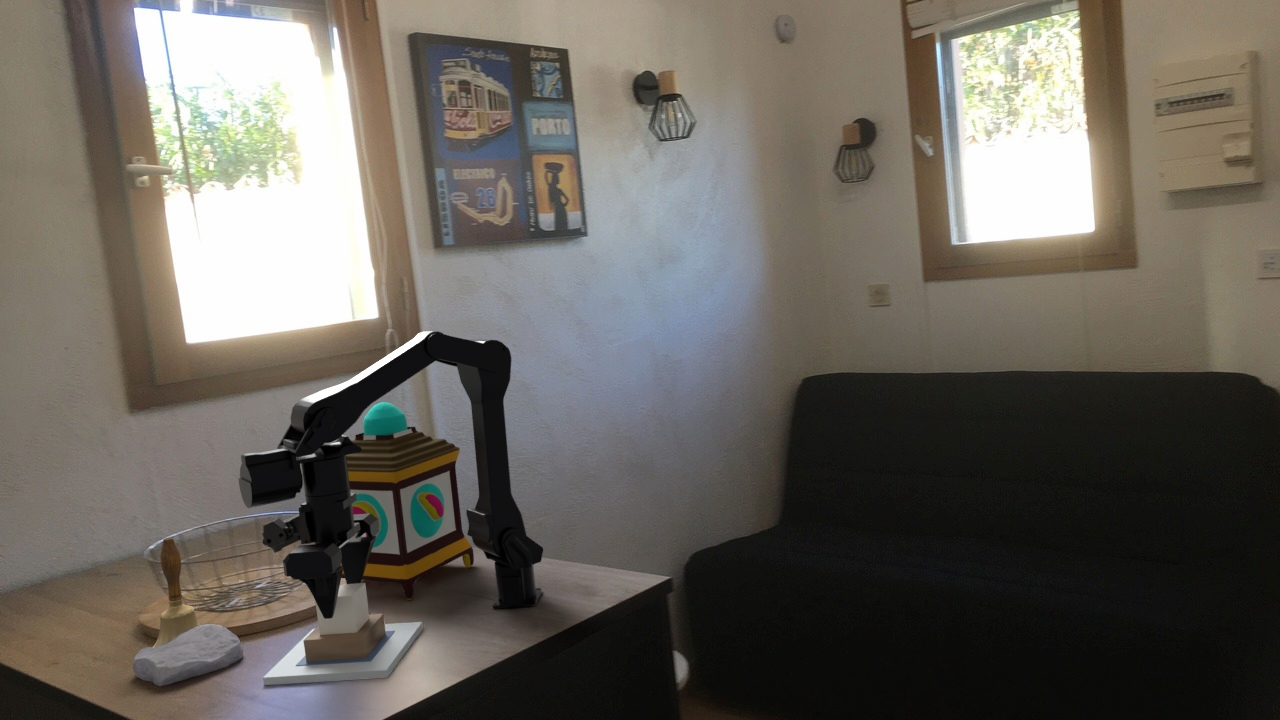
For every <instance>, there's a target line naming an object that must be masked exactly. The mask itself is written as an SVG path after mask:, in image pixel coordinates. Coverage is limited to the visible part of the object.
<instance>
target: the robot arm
mask: <svg viewBox="0 0 1280 720" xmlns="http://www.w3.org/2000/svg"><path fill="white" fill-rule="evenodd" d="M435 362H437V363H442V364H444V365H449V366H452V367H455V368H457V371H458V372H457V373H458V375H459V380H460V383H461V386H462V387H463V390H464V391H465V393H466V395H467V397H468V399H469V400H470V406H471V408H470V409H471V416H472V417H471V418H472V419H471V420H472V427H473V428H472V429H473V438H474V439H473V440H474V451H475V463H476V464H475V465H476V474H477V485H478V499H477V502H476V504H475V506H474V508H467V509H466V517H467V523H468V530H467V534H466V535H467V536H469V537H471V539H472V543H473V545H474V546H476V548H478V549H479V550H481V551H483V554H484V555H485V556H484V557H486V559H488V560H491V561H494V570H495V572H494V573H495V579H496V590H497V595H496V597H495V600H494V601H493V602H492V609H505V608H507V609H508V608H518V607H519V608H521V607H533V606H536V605H537V604H538V601H539V599H540V596H541V595H542V592H543V590H542V588H541V587H536V577H535V567H534V565H536V564H538V563H541V561H542V558H543V555H544V554H543V553H544V548H543V546H541V545H540V544H539V543H537V542H536V541H535V540H533V539H532V538H530V537H529V536H528V535H527V530H526V527H525V522H524V519H523V516H522V515H523V514H522V512H521V511H520V508H519V506H518V505H517V502H516V500H515V498H514V496H513V494H512V485H511V474H510V473H511V472H510V461H509V450H508V449H509V448H508V438H507V436H508V435H507V427H506V425H507V424H506V416H505V415H506V414H505V404H504V403H505V402H504V401H505V396H506V394H507V391H508V388H509V385H510V382H511V372H512V371H511V370H512V354H511V350H510V349H509V347H508V346H507V345H505V344H504V343H503V342H502V341H500V340H498V339H480V338H479V339H473V338H472V339H465V338H461V337H457V336H453V335H449V334H448V335H447V334H444V333H443V332H441V331H439V330H438V331H435V330H433V331H431V330H430V331H429V330H428V331H426V330H423V331H421V332H419V333H417V334H415V337H413V338H412V339H411V340H409V341H407V342H406V343H405V344H403V345H401V346H400V347H399V348H397V349H395V350H394V351H392V352H391V353H389V354H387V355H386V356H385V357H383V358H382V359H380V360H379V361H376V362H375V363H374V364H372V365H371V366H369V367H367V368H366V369H364V370H363V371H361V372H360V373H359V374H357V375H355V376H354V377H352V378H350V379H348V380H347V381H344V382H341V383H339V384H337V385H334V386H333V385H332V386H331V387H328V388H324V389H321V390H319V391H318V392H317V391H316V392H314V393H312V394H310V395H308V396H305V397H303V398H300V400H299V401H297V402H296V403H295V404H294V405H293V406H292V409H291V412H290V413H291V415H290V424H289V426H288V428H287V429H286V431H285V432H284V435H283V436H282V438H281V439H280V442H279V443H278V446H277V447H276V449H273V450H267V451H262V452H248V453H242V454H241V455H240V459H241V465H240V468H239V477H238V487H239V492H240V495H241V498H242V499H241V500H242V502H243V503H244V506H245V507H246V508H247V509H251V508H256V507H262V506H266V505H271V504H275V503H281V502H286V501H288V500H294V499H295V498H296V496H297V494H298V493H299V494H300V493H301V490H302V488H303V489H304V498H305V501H304V502H302V503H301V504H300V505H299V507H298V513H297V514H294V515H292V516H290V517H289V518H286V519H284V520H282V519H281V518H279V517H278V518H276V519H274V520H272V521H269V522H267V523H265V524H264V525H262V529H263V530H262V531H263V533H261V535H262V538H263V539H262V540H261V542H262V545H264V546H267V547H268V548H270V549H271V550H272V551H273V553H275V554H276V553H278V552H281V551H282V550H283V548H286V547H288V546H291V545H292V544H295V543H297V542H299V541H300V545H299V546H297V547H296V548H294V549H293V550H292V551H291V552H289V553H288V554H287V555H286V557H284V559H283V560H282V565H283V572H284V573H283V574H284V576H285V577H290V578H291V579H292V580H299V581H300V582H302V583H303V584H305V585H306V586H307V588H308V590H309V591H310V592H311V595H312V597H313V599H314V602H315V604H316V603H317V605H318V607H319V609H320V611H321V613H322V615H323V617H324V618H325V619H330V618H332V617H333V615H334V611H335V607H336V602H337V597H338V592H339V587H340V585H341V581H342V578H341V577H342V571H344V575H345V578H344V579H345V582H346V583H345V584H356V583H362V581H363V580H362V578H363V575H364V571H365V568H366V565H367V562H368V559H369V556H370V553H371V550H372V547H373V544H374V542H375V540H376V536H375V535H376V534H377V533H378V532H379V525H378V519H377V518H376V517H375V516H374V515H372V514H371V513H368V514H354V515H353V508H352V503H353V502H355V501H356V500H357V497H356V493H351V492H350V484H349V476H348V468H347V459H346V455H348V454H353V453H358V452H361V450H362V448H361V447H360V446H358V445H356V444H355V443H353V442H352V441H353V440H352V439H351V438H350V437H349V436H347V435H344V434H345V433H346V432H347V431H348V430H349V429H351V427H353V425H355V424H356V423H357V422H358V420H359V419H360V417H361V416H362V415H363V413H364V412H365V410H366V409H368V408H369V407H370V406H371V405H372V404H374V403H375V402H376V401H378V400H379V399H381V398H383V397H385V395H386V394H388V393H390V392H391V391H393V390H394V389H395V388H397V387H399V386H400V385H402V384H403V383H404V382H406V381H409V380H410V379H411V378H412V377H413V376H415V375H417V374H418V373H420V372H421V371H422V370H424V369H426V368H427V367H429V366H430V365H431V364H433V363H435ZM334 441H335V442H334ZM366 533H367V534H368V536H369V537H366ZM312 543H314V544H312ZM341 563H342V566H340V565H341Z"/></svg>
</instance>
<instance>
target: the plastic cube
mask: <svg viewBox="0 0 1280 720" xmlns="http://www.w3.org/2000/svg"><path fill="white" fill-rule="evenodd" d="M315 607H316V608H315V609H316V616H317V626H319V633H320V635H327V634H342V633H357V632H358V631H359V630H360V628H361V627H362V626H363V625H364V624H365V623H366V622H367V621H368V619H369V615H370V613H369V603H368V595H367V588H366V582H361V583H356V584H347V583H345V584H344V583H342V584H340V587H339V592H338V597H337V602H336V607H335V611H334V615H333V617H332V618H330V619H325V618H324V617H323V615H322V613H321V611H320V609H319V607H318V605H317V603H316V602H315Z"/></svg>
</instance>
